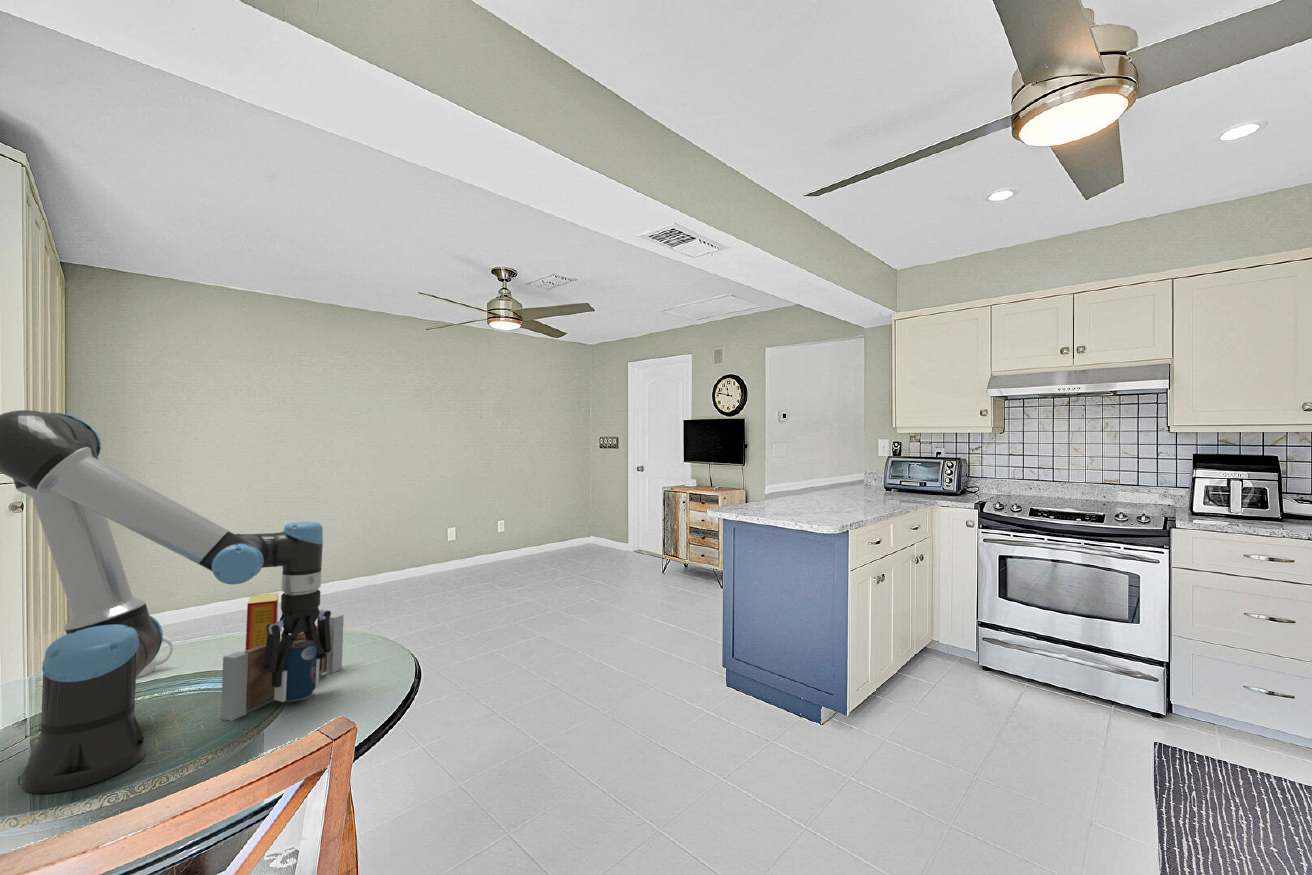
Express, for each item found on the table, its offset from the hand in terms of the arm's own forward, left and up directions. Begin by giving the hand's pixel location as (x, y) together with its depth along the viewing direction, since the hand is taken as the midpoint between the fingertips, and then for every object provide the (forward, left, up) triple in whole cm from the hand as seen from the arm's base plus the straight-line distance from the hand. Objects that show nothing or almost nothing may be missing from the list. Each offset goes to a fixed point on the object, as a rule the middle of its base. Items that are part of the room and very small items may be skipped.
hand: (296, 693), depth 124 cm
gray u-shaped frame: (+4, +7, -2) cm, 8 cm away
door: (+4, +7, -1) cm, 8 cm away
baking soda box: (+20, +34, -2) cm, 39 cm away
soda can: (0, 0, -1) cm, 1 cm away
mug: (+2, +51, -2) cm, 51 cm away
